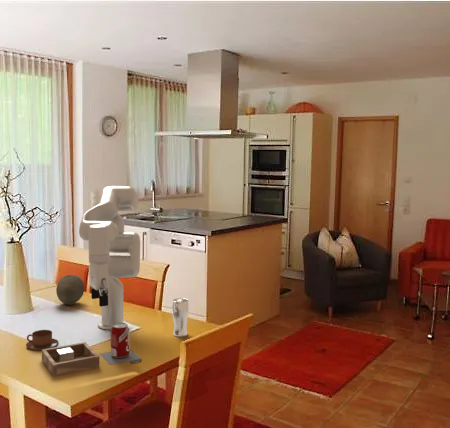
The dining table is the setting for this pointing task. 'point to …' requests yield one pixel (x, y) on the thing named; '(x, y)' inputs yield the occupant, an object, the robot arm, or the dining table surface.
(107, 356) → the slate mat
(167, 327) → the dining table surface
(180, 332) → the beer glass
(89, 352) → the walnut crate
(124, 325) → the soda can
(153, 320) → the dining table surface
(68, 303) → the cantaloupe
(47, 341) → the cup and saucer
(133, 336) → the dining table surface
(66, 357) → the metal block
